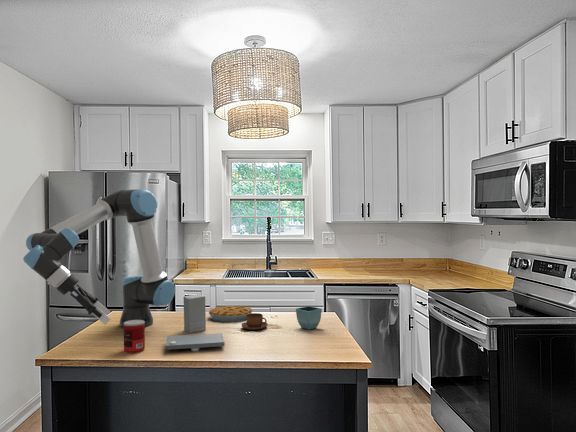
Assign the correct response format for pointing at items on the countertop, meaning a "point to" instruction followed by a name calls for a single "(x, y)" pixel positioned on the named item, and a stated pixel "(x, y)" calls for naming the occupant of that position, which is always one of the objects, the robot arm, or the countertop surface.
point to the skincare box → (194, 313)
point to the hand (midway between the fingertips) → (107, 318)
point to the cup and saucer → (254, 322)
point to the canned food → (134, 336)
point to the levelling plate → (194, 341)
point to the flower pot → (308, 317)
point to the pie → (230, 313)
